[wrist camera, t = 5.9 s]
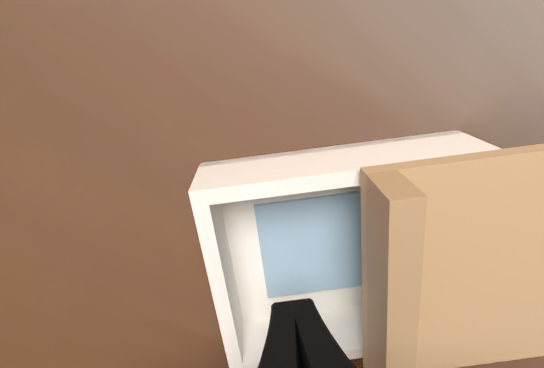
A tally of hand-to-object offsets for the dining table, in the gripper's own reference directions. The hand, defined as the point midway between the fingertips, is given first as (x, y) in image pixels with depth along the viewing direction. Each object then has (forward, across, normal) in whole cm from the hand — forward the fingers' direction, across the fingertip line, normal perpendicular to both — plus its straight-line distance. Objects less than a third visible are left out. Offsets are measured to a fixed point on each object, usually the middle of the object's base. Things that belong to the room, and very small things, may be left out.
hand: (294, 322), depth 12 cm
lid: (+2, -8, 0) cm, 9 cm away
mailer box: (+5, -2, 0) cm, 6 cm away
